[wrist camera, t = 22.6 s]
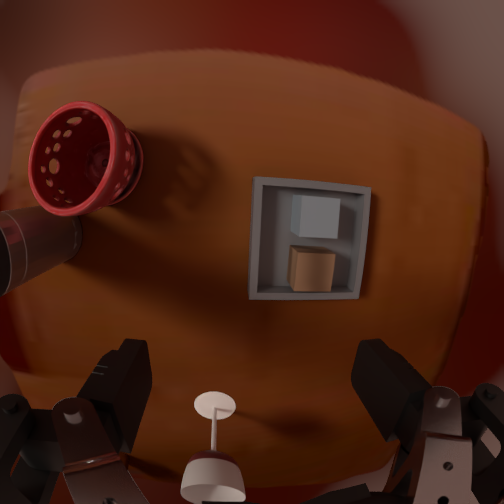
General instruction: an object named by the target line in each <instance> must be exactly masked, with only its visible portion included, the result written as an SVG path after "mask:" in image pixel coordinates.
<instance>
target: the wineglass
mask: <svg viewBox="0 0 504 504" xmlns="http://www.w3.org/2000/svg"><path fill="white" fill-rule="evenodd" d="M194 406H195V409H196V411H197V412H198V413H199V414H200V415H202V416H204V417H206V418H209V419H212V439H211V450H206V451H201V452H198V453H196V454H194V455H193V456H192V457H191V458H190V460H189V462H188V464H187V467H186V469H185V472H184V475H183V480H182V484H181V492H180V493H181V495H182V496H183V498H185V499H186V500H188V501H190V502H192V503H196V504H202V501H221V502H241V501H244V500H245V490H244V484H243V479H242V476H241V472H240V470H239V467H238V464H237V463H236V461H235V460H234V459H233V458H232V457H231V456H229V455H227V454H225V453H223V452H219V451H216V426H217V419H223V418H227V417H228V416H230V415H231V414H232V413H233V412H234V411H235V408H236V407H235V402H234V400H233V399H232V398H231V397H230V396H228V395H226V394H224V393H220V392H207V393H203V394H201V395H200V396H198V397H197V398H196V400H195V403H194Z"/></svg>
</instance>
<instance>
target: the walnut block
mask: <svg viewBox="0 0 504 504" xmlns="http://www.w3.org/2000/svg"><path fill="white" fill-rule="evenodd" d="M335 255H336V254H334V253H333V252H331V251H329V250H328V249H326V248H325V247H320V246H301V245H290V246H289V257H288V267H287V277H286V279H287V281H288V283H289V284H290V286H291V287H292V289H293V290H294V291H323V292H330V291H331V285H332V278H333V271H334V263H335Z"/></svg>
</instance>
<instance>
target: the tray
mask: <svg viewBox="0 0 504 504" xmlns="http://www.w3.org/2000/svg"><path fill="white" fill-rule="evenodd" d="M293 195H303V196H315V197H326V198H336V199H340V212H339V224H338V235H337V239H335V238H316V237H299V236H297V235H296V234H294V233H293V232H291V216H292V201H293ZM370 199H371V187H364V186H356V185H348V184H339V183H330V182H320V181H309V180H298V179H285V178H270V177H253V182H252V203H251V225H250V246H249V268H248V290H247V291H248V296H249V300H327V299H359V293H360V287H361V281H362V274H363V267H364V259H365V252H366V243H367V234H368V224H369V212H370ZM290 245H301V246H320V247H325V248H326V249H328V250H329V251H331V252H333V253H334V254H336V255H335V263H334V271H333V278H332V285H331V291H330V292H323V291H294V290H293V289H292V287H291V286H290V284H289V283H288V281H287V279H286V277H287V267H288V257H289V246H290Z"/></svg>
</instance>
